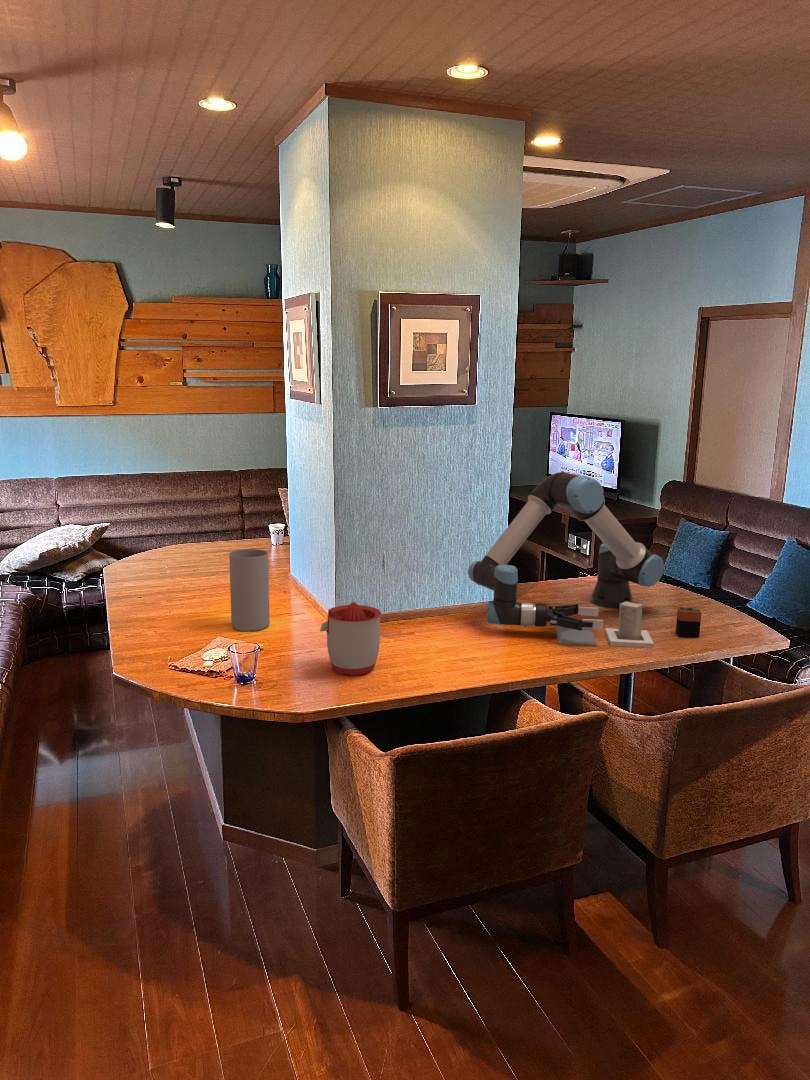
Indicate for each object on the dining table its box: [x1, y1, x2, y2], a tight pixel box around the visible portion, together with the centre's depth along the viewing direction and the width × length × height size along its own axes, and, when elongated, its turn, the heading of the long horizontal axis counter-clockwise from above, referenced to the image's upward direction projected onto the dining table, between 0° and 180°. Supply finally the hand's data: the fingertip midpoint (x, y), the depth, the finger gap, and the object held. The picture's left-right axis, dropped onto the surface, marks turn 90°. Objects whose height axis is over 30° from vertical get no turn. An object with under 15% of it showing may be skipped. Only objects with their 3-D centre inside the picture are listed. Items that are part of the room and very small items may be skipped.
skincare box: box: [617, 601, 644, 640], centre depth 261 cm, size 6×4×12 cm
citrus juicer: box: [319, 601, 382, 676], centre depth 231 cm, size 16×17×20 cm
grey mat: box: [554, 626, 598, 647], centre depth 264 cm, size 16×12×1 cm
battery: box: [675, 605, 702, 639], centre depth 267 cm, size 4×7×10 cm, turn 85°
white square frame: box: [604, 627, 655, 649], centre depth 262 cm, size 13×13×2 cm
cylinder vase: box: [228, 548, 271, 632], centre depth 267 cm, size 12×12×25 cm
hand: (600, 618), depth 262 cm, fingers open, 13 cm apart
